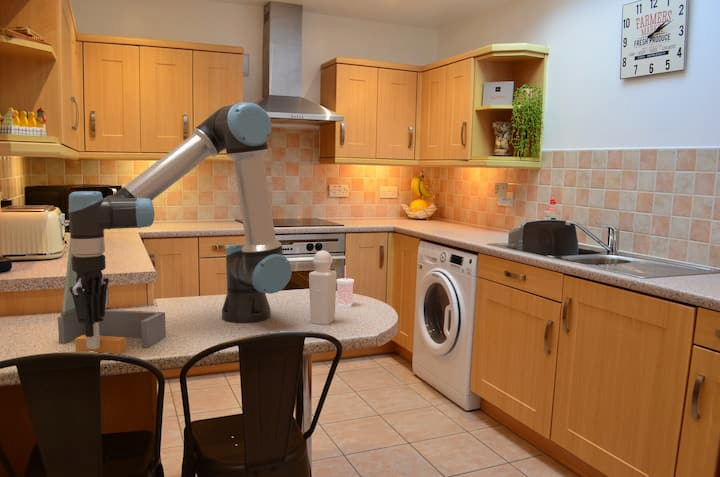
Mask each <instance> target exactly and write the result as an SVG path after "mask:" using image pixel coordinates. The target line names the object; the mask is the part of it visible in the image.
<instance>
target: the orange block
mask: <svg viewBox="0 0 720 477" xmlns="http://www.w3.org/2000/svg"><path fill="white" fill-rule="evenodd" d="M74 340H75V341H74V343H75V344H74V345H75V352H78V351H94V352H93V353H97V352H108V353H107V354H116V353H117V354H118V355H119V354H122V353H123V352H124V353H125V351H127V337H122V336H102V335H100V348H98V349H87V346H86V335H82V336H80V337H77V338H75V339H74Z"/></svg>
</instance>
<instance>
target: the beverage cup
mask: <svg viewBox="0 0 720 477" xmlns="http://www.w3.org/2000/svg"><path fill="white" fill-rule="evenodd" d="M354 283H355V279H354V278H347V265H346V264H345V265H344V278H341V277H340V278H336V290H337V304H338V305H339V306H345V307H344V308H348V307H347V306H351V305H352V306H353V296H354V295H353V292H354V291H353V290H354ZM338 305H337V306H338ZM339 306H338V307H339ZM352 306H351V307H352Z"/></svg>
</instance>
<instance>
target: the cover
mask: <svg viewBox="0 0 720 477" xmlns="http://www.w3.org/2000/svg"><path fill="white" fill-rule="evenodd" d="M68 246H69V247H68V254H67V255H68V256H67V264H66V265H67V266H66V274H65V283H64V291H63V293H64V294H63V303H62V310H61V311H62V312H61V313H60V316H62V317H66V316H68V315H71V314H73V313H76V309H75V304H74V300H73V296H72V294H71V292H70V287H74V286H75V285H76V278H77V273H76V272H74V271H73V270H72V259H71V258H72V257H73V256H74V254H72V253H71V238H69V245H68Z"/></svg>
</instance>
